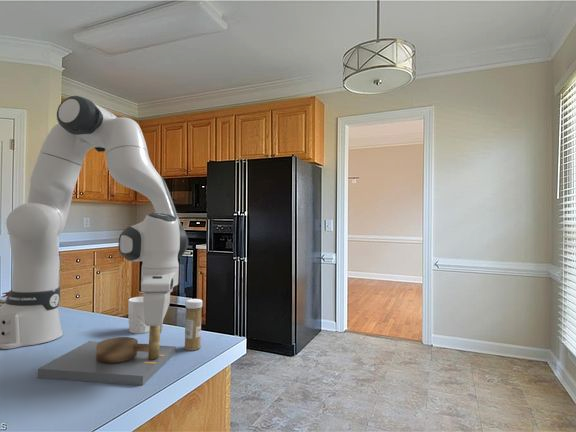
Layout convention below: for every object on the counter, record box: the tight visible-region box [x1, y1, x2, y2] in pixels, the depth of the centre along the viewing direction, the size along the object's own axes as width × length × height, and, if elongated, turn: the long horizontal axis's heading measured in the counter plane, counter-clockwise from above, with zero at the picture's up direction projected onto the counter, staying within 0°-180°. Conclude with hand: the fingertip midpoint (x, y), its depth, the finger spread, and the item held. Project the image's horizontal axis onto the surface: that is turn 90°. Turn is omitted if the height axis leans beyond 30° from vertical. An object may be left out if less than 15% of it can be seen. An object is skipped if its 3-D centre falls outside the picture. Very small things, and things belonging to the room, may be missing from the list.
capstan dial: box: [96, 325, 161, 363], centre depth 86 cm, size 15×9×8 cm, turn 89°
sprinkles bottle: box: [184, 298, 203, 351], centre depth 99 cm, size 5×5×14 cm
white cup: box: [127, 296, 150, 335], centre depth 112 cm, size 8×8×10 cm
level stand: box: [36, 340, 176, 386], centre depth 86 cm, size 24×18×2 cm
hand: (157, 332), depth 88 cm, fingers closed
